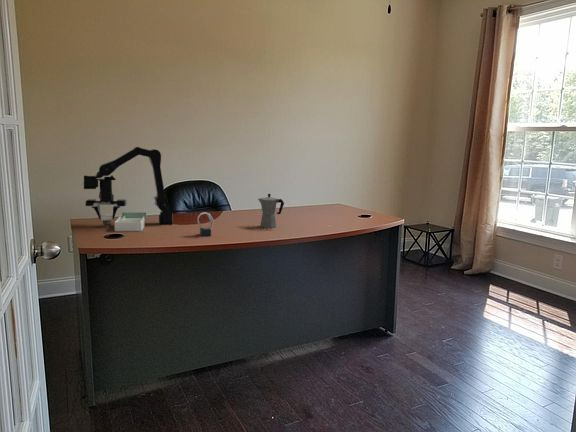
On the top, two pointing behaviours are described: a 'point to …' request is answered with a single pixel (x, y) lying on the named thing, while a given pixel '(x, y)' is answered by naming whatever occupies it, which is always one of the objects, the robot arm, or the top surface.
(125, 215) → the drawer
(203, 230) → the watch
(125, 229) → the shallow white bin
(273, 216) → the coffeepot
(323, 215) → the top surface
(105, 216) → the dome
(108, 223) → the stand
